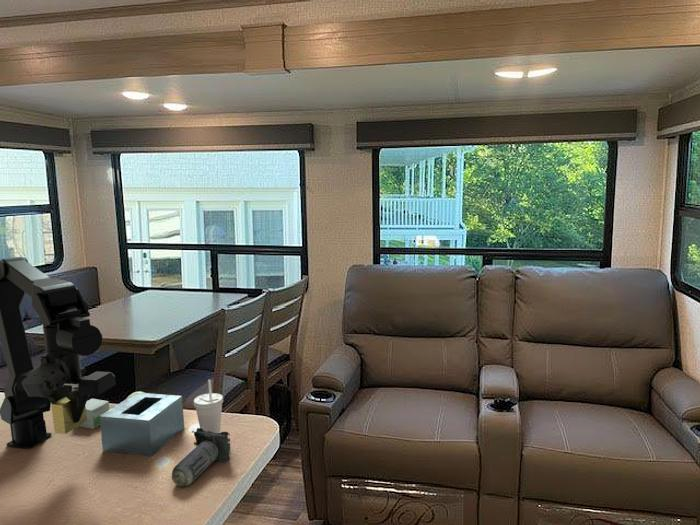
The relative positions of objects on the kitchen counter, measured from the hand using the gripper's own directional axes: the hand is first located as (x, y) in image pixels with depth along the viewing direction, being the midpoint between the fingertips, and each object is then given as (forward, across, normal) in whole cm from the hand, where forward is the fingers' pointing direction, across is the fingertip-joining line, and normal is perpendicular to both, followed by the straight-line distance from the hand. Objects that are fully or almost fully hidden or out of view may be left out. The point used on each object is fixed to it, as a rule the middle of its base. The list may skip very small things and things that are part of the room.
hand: (70, 421), depth 107 cm
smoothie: (+10, +22, +16) cm, 29 cm away
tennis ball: (+10, -2, +24) cm, 26 cm away
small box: (+10, -11, +19) cm, 24 cm away
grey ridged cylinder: (+10, +26, +3) cm, 28 cm away
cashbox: (+10, +7, +14) cm, 18 cm away
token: (+1, 0, 0) cm, 1 cm away
